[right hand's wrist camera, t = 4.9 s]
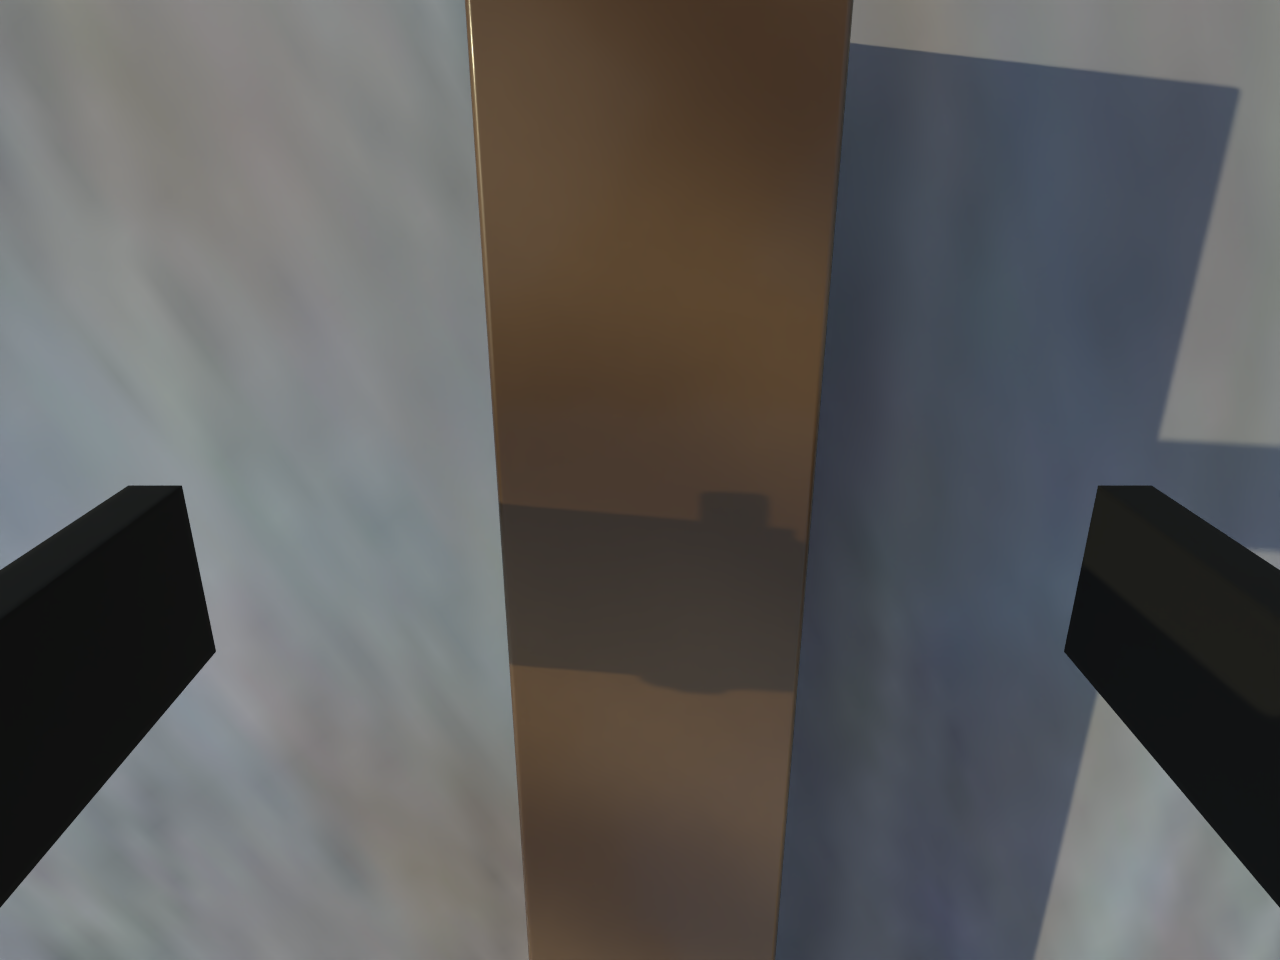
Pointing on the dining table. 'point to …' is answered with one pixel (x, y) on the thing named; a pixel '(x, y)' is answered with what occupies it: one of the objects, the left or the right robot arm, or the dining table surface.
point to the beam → (655, 444)
